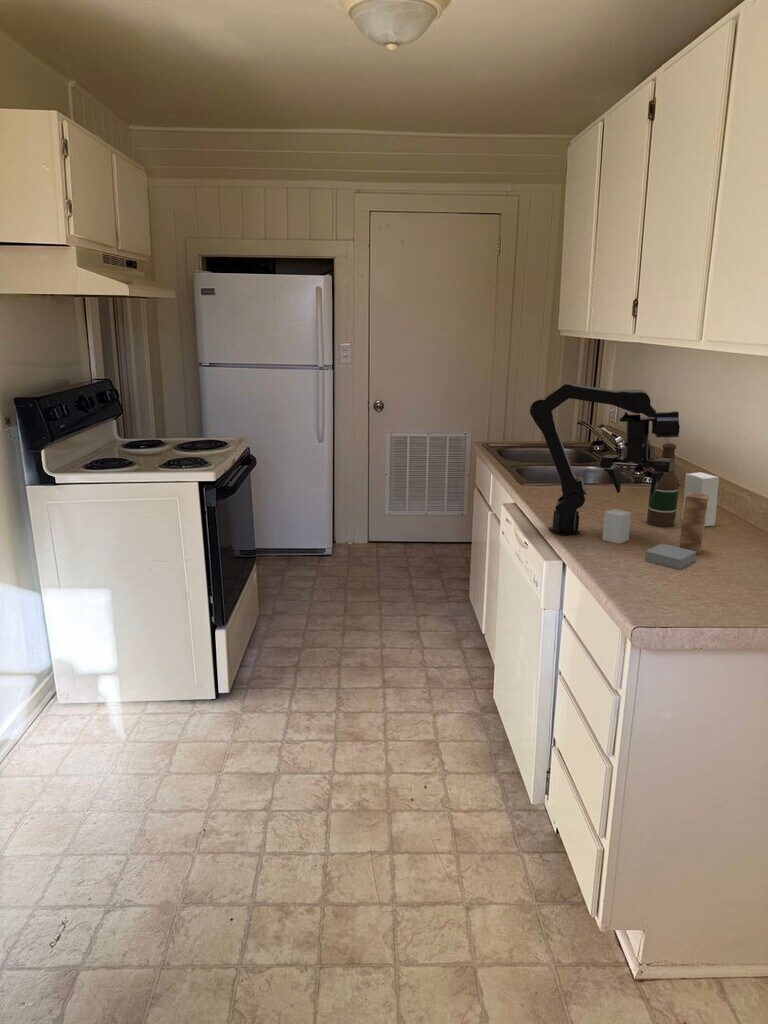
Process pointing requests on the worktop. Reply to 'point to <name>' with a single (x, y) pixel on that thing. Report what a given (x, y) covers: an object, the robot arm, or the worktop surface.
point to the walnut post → (693, 521)
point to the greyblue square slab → (670, 556)
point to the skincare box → (703, 492)
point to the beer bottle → (664, 495)
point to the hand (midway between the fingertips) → (635, 494)
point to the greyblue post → (616, 526)
